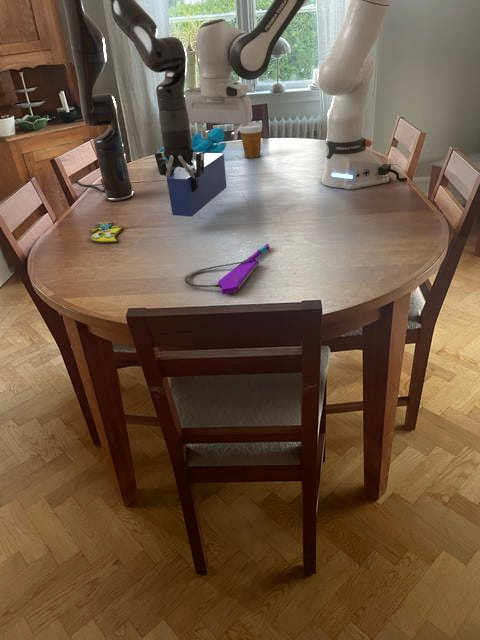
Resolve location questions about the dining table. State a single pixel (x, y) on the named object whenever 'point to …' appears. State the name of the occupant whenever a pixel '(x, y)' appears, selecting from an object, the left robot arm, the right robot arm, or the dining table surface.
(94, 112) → the left robot arm
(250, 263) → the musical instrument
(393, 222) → the dining table surface
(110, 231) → the toy
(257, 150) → the glass of beer
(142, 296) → the dining table surface
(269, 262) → the dining table surface
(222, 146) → the toy
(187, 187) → the box
